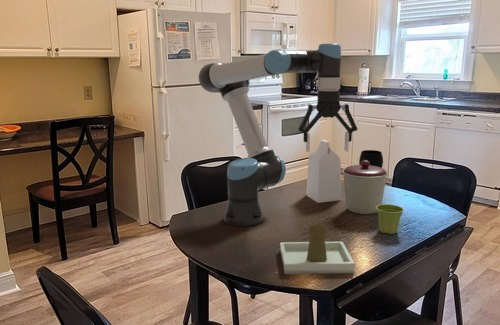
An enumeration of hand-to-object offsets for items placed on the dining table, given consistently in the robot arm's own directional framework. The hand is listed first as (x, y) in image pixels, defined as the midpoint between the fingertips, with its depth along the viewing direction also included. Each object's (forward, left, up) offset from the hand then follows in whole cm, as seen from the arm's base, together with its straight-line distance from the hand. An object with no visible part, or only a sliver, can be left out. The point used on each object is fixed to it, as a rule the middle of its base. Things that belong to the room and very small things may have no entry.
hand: (327, 151), depth 154 cm
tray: (-8, -28, -29) cm, 41 cm away
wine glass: (+28, +42, -29) cm, 58 cm away
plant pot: (+22, -4, -29) cm, 37 cm away
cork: (-8, -28, -28) cm, 41 cm away
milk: (+6, +38, -29) cm, 48 cm away
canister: (+19, +19, -29) cm, 39 cm away
